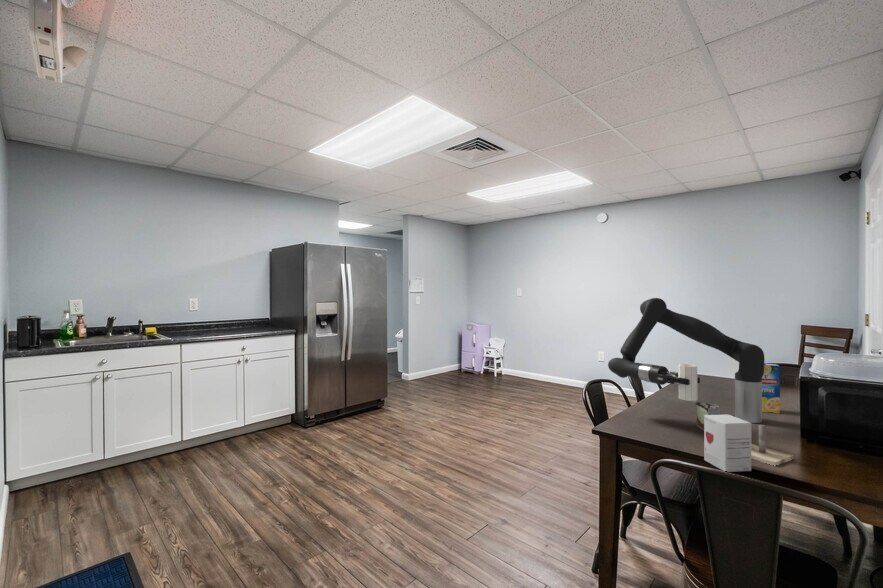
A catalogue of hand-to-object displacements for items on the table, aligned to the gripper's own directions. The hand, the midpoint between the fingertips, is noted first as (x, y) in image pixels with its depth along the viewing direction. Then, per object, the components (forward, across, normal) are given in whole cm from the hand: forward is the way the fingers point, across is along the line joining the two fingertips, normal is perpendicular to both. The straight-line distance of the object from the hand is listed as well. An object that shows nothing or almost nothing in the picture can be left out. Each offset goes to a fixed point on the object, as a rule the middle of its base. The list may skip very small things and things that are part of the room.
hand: (694, 381), depth 148 cm
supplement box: (+19, -16, +22) cm, 33 cm away
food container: (-3, +15, +22) cm, 26 cm away
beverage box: (-8, +66, +22) cm, 70 cm away
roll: (-2, 0, +7) cm, 8 cm away
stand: (+20, +3, +22) cm, 30 cm away
